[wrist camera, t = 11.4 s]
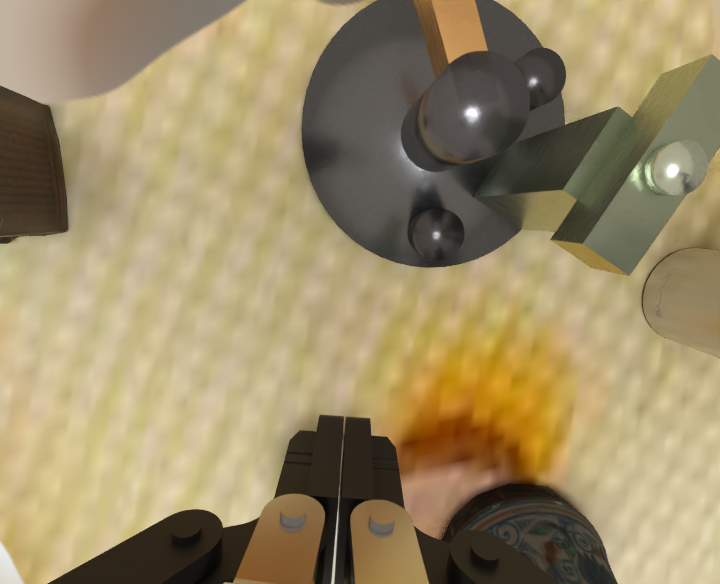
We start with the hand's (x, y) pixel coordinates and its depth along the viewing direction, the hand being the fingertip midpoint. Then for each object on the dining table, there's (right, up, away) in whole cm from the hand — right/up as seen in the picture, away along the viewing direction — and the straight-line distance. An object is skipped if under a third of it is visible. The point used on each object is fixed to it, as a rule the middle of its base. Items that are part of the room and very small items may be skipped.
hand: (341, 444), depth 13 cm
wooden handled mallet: (+4, +24, +21) cm, 33 cm away
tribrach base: (+7, +18, +25) cm, 31 cm away
